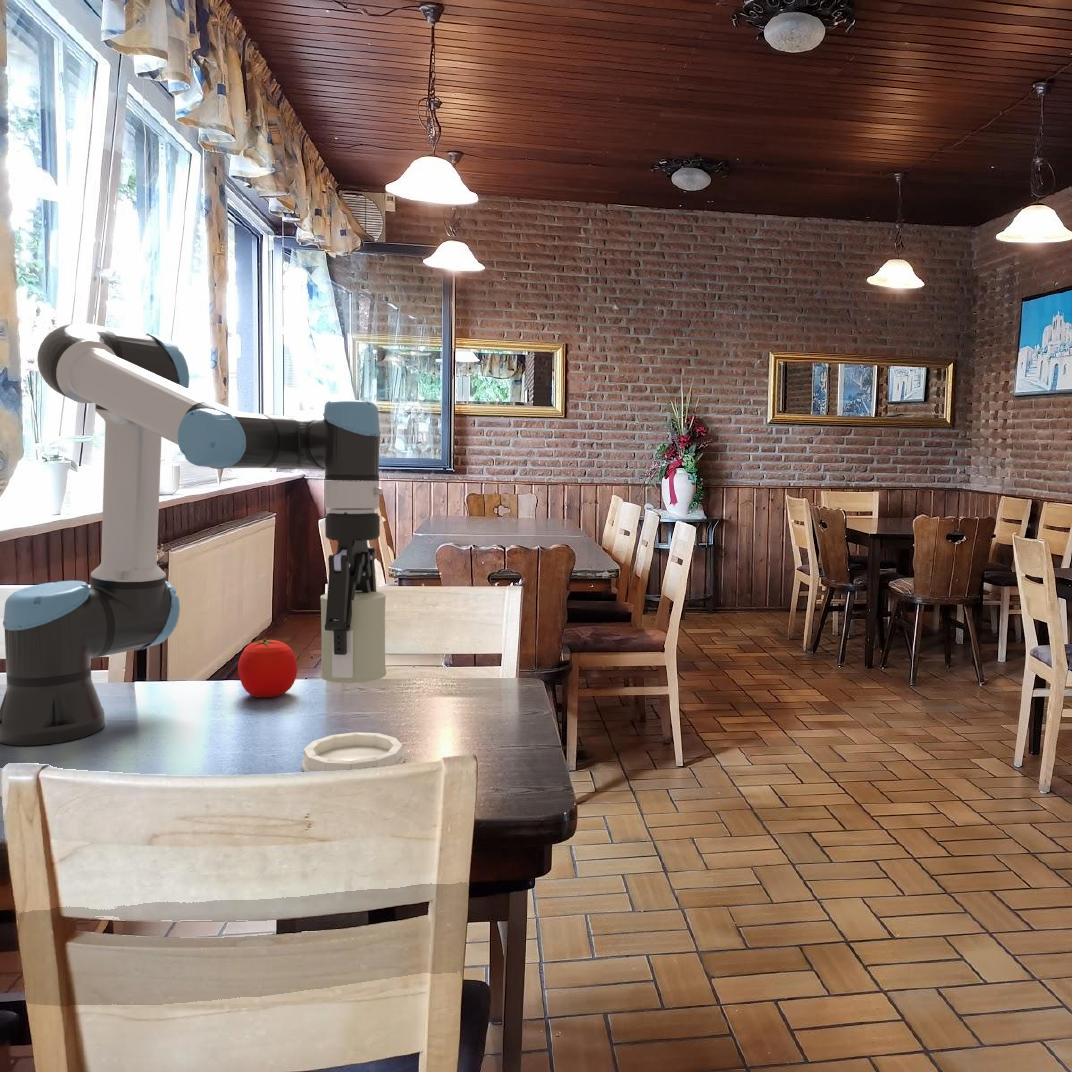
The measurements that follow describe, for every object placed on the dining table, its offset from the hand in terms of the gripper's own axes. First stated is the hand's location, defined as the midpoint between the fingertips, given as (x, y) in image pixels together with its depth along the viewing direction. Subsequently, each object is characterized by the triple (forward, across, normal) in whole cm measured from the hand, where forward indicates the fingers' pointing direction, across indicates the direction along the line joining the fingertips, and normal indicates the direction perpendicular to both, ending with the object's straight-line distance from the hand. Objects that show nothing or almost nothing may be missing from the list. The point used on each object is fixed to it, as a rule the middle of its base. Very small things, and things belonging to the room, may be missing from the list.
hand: (353, 668), depth 120 cm
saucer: (+14, 0, 0) cm, 14 cm away
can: (+1, 0, 0) cm, 1 cm away
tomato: (+14, +33, +27) cm, 45 cm away
